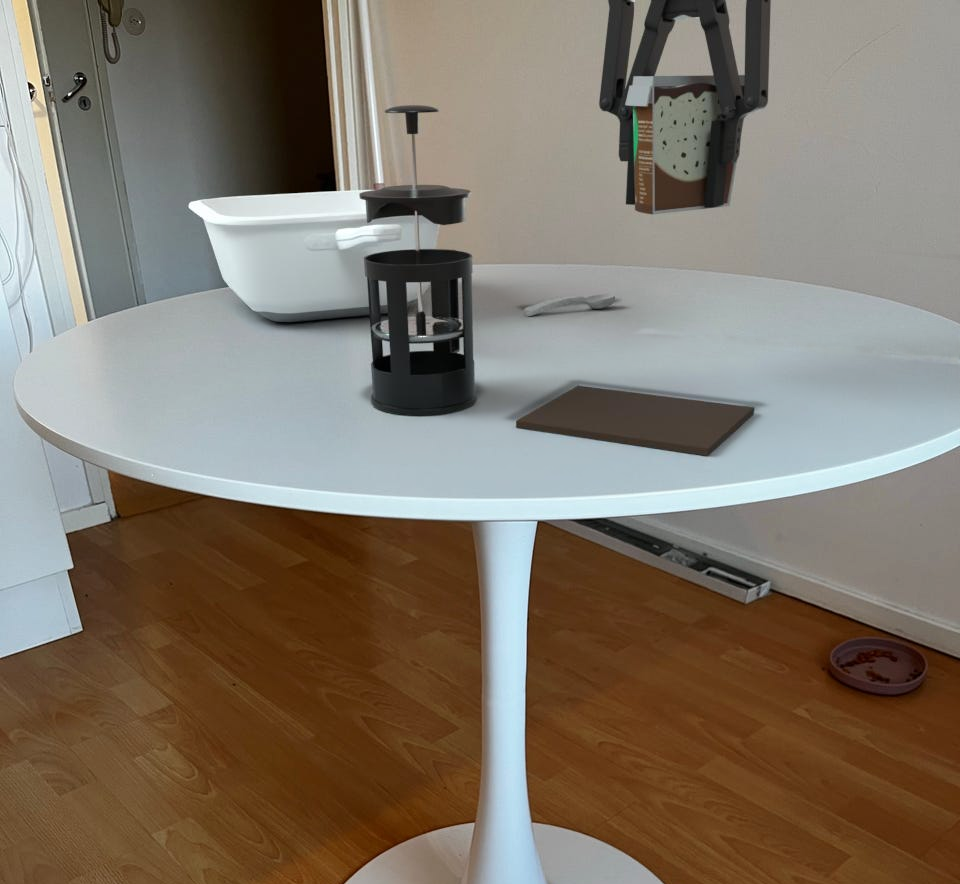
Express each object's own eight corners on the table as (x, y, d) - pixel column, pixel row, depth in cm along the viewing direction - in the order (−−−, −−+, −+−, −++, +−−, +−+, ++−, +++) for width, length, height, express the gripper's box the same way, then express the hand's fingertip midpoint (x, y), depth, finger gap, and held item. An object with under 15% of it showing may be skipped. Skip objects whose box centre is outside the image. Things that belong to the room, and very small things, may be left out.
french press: (449, 422, 83) (439, 106, 72) (348, 412, 86) (323, 107, 75) (499, 386, 92) (497, 102, 81) (406, 378, 95) (392, 104, 84)
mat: (753, 414, 83) (754, 407, 83) (707, 456, 74) (708, 448, 74) (577, 391, 90) (577, 385, 90) (515, 427, 81) (515, 420, 81)
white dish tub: (400, 282, 143) (395, 184, 136) (525, 345, 106) (525, 216, 100) (196, 298, 134) (181, 195, 128) (256, 374, 97) (239, 234, 91)
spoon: (620, 307, 123) (620, 290, 122) (531, 324, 119) (530, 306, 118) (608, 303, 125) (608, 286, 124) (521, 319, 122) (520, 302, 121)
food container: (689, 199, 93) (700, 75, 88) (741, 204, 89) (754, 74, 84) (589, 209, 87) (594, 76, 82) (639, 215, 82) (648, 76, 78)
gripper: (559, -119, 78) (554, 204, 89) (813, -150, 69) (772, 213, 80) (600, -106, 83) (590, 196, 94) (840, -133, 74) (798, 204, 86)
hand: (674, 204), depth 87 cm, fingers closed on food container, 6 cm apart
